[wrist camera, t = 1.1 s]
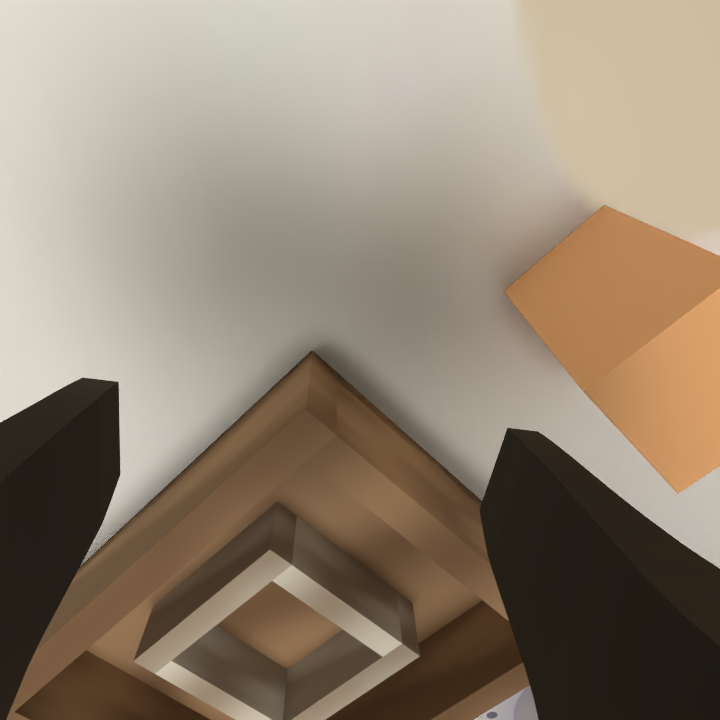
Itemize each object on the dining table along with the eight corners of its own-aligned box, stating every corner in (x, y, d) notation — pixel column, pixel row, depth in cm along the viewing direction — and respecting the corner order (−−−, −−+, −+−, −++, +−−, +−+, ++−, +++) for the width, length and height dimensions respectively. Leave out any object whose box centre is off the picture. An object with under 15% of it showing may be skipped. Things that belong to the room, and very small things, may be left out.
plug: (671, 291, 19) (832, 390, 13) (573, 368, 20) (677, 493, 14) (604, 204, 18) (746, 268, 12) (503, 291, 19) (583, 391, 13)
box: (553, 564, 24) (590, 648, 21) (266, 757, 29) (255, 851, 26) (312, 350, 20) (306, 409, 16) (21, 621, 25) (-34, 712, 21)
